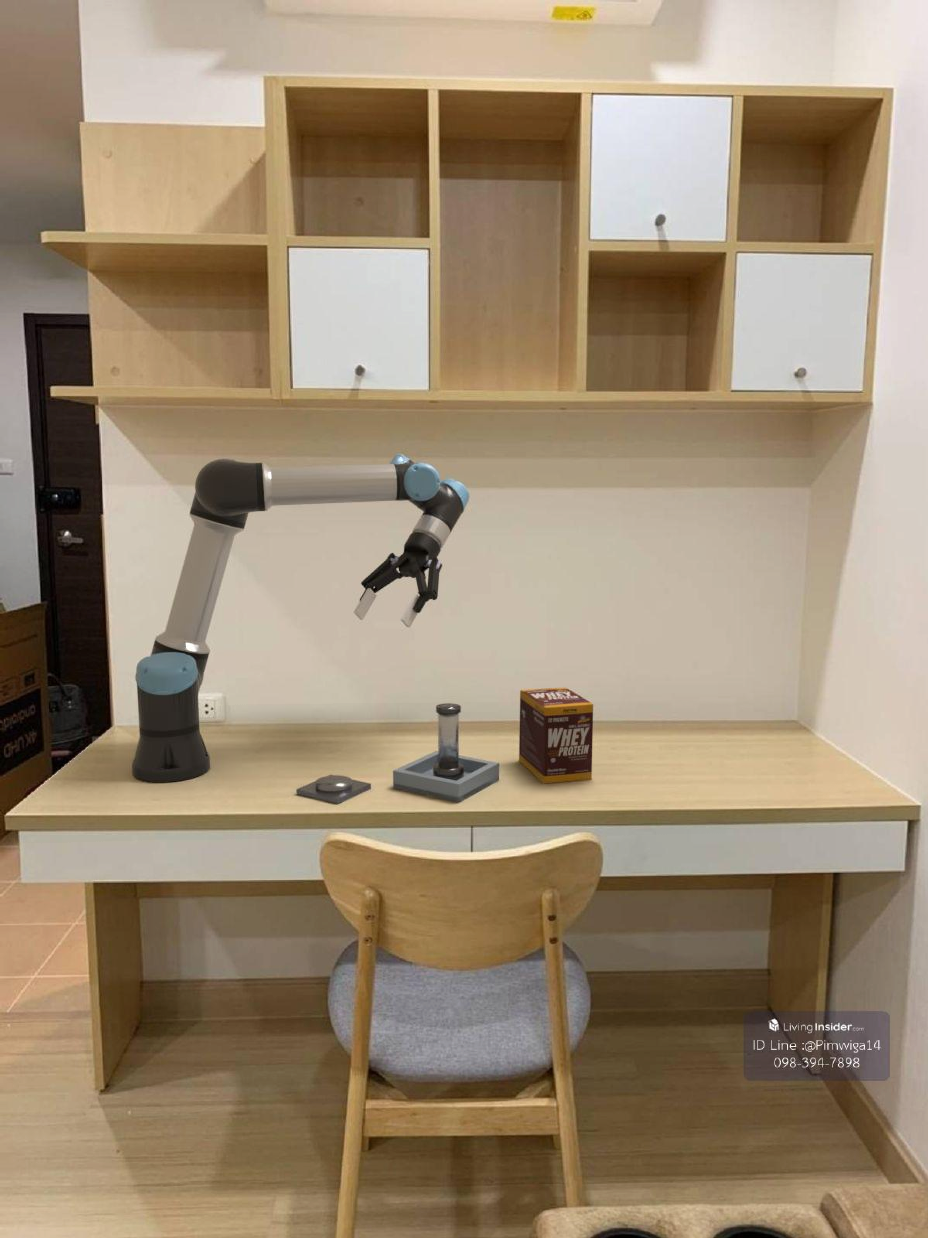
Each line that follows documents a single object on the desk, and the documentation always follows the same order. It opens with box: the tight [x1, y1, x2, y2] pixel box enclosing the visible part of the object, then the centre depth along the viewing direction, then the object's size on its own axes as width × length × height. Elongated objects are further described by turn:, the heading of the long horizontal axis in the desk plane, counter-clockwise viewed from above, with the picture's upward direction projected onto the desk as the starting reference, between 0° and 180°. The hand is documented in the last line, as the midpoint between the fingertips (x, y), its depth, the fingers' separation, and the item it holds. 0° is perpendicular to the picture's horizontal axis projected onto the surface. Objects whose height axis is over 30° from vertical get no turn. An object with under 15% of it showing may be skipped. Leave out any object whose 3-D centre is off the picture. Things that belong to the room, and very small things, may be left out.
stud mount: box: [296, 774, 372, 805], centre depth 177 cm, size 10×10×2 cm
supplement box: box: [518, 687, 594, 784], centre depth 189 cm, size 10×15×16 cm
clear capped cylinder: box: [433, 702, 464, 781], centre depth 180 cm, size 6×6×14 cm
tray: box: [392, 750, 500, 803], centre depth 181 cm, size 15×15×4 cm
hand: (380, 620), depth 194 cm, fingers open, 13 cm apart
